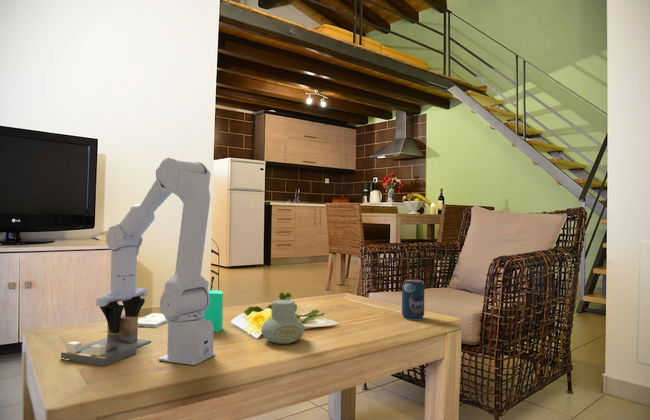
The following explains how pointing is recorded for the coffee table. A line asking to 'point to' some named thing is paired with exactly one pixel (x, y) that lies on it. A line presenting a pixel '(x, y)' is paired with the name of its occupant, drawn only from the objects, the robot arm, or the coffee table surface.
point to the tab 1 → (74, 346)
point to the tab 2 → (98, 349)
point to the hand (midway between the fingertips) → (122, 330)
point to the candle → (215, 309)
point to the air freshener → (283, 323)
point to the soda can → (413, 299)
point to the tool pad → (136, 344)
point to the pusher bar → (125, 331)
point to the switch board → (110, 356)
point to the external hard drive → (152, 320)
